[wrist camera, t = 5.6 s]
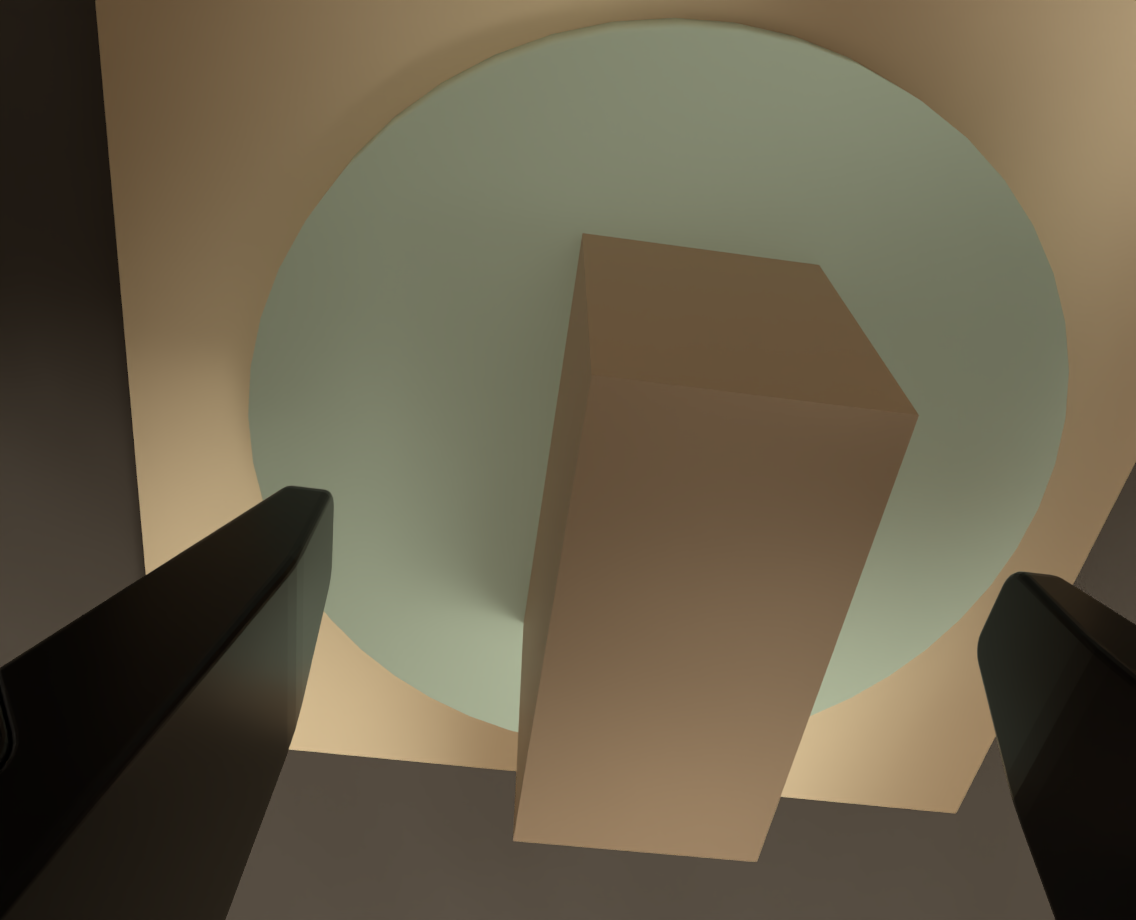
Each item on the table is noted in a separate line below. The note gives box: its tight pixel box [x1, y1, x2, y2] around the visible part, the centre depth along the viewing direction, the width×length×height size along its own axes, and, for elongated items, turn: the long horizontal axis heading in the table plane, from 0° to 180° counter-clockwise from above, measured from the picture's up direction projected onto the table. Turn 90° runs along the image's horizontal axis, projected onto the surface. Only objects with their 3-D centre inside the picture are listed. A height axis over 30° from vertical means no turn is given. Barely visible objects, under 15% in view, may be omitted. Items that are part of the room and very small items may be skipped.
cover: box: [248, 18, 1069, 862], centre depth 10 cm, size 9×9×4 cm
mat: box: [95, 0, 1136, 813], centre depth 12 cm, size 12×12×1 cm
